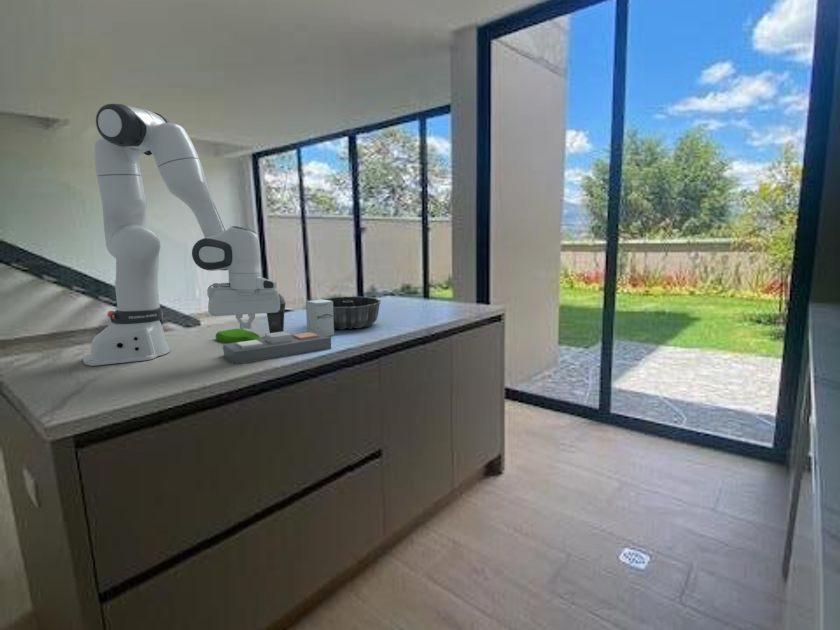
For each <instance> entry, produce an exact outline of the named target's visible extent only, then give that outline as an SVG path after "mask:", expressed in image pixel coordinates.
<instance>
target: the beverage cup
mask: <svg viewBox="0 0 840 630" xmlns="http://www.w3.org/2000/svg"><path fill="white" fill-rule="evenodd" d="M279 298H280V310H279V311H278V312H275V313H266V319H267V324H268V329H269V330H268V331H269V333H276V332H283V331H284V330H285V310H286V301H285V298H284V296H283V295H281V294H280V293H279ZM284 332H285V331H284Z"/></svg>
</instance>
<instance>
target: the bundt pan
mask: <svg viewBox="0 0 840 630" xmlns="http://www.w3.org/2000/svg"><path fill="white" fill-rule="evenodd" d="M323 299H324V300H329V301H333V317H334V330H336V329H337V330H345V329H349V330H352V329H361V328H368V327H369V326H371V325H373V324H375V322H376V321H377V319H378V316H379V310H380V304H381V302H382V300H381V299H378V298H376V297H369V296H338V297H337V296H335V297H334V296H333V297H328V298H321V300H323Z"/></svg>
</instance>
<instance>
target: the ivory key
mask: <svg viewBox="0 0 840 630" xmlns="http://www.w3.org/2000/svg"><path fill="white" fill-rule="evenodd" d="M236 346H238V347H240V348H241V349H244V348H251V347H257V346H263V343H261V342H259V341H257V340H251V341H244V342H237V343H236Z"/></svg>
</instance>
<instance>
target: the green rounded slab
mask: <svg viewBox="0 0 840 630" xmlns="http://www.w3.org/2000/svg"><path fill="white" fill-rule="evenodd" d="M215 338H216V340H217V341H219V342H222V343H224V344H228V343H235V342H243V341H250V340H257V339H263V338H262V337H261V336H260V335H259V334H258V333H256V332H253V331H250V330H248V329H240V328H234V329H231V328H230V329H227V330H221V331H220V330H219V331H217V332H216V334H215Z"/></svg>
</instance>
